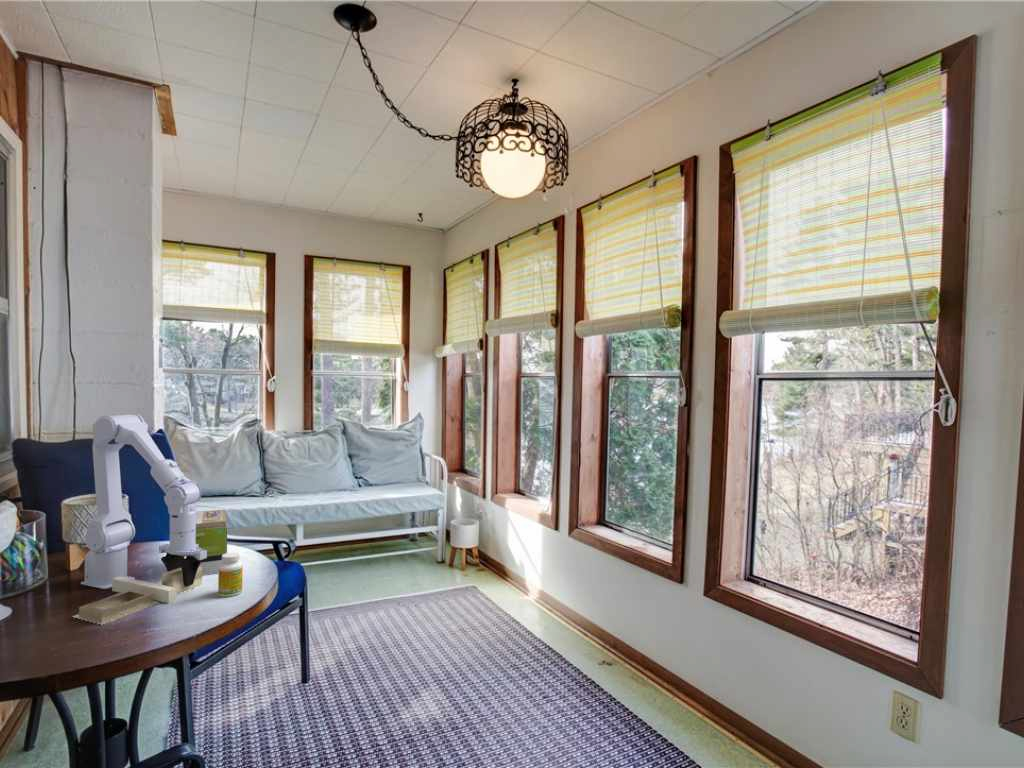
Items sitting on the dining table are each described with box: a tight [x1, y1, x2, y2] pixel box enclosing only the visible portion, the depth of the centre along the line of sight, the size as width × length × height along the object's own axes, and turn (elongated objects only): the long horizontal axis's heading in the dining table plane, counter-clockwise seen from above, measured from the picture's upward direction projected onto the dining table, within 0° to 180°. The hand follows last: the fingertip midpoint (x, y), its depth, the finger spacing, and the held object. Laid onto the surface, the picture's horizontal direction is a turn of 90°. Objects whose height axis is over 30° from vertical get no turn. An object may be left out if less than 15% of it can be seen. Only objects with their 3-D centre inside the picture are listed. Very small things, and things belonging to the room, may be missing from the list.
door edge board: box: [111, 576, 177, 604], centre depth 139 cm, size 20×2×3 cm, turn 69°
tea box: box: [196, 508, 228, 575], centre depth 161 cm, size 15×10×15 cm, turn 27°
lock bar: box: [161, 566, 203, 595], centre depth 143 cm, size 4×8×5 cm, turn 159°
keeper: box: [71, 590, 160, 626], centre depth 130 cm, size 10×13×2 cm
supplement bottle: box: [217, 552, 244, 598], centre depth 141 cm, size 5×5×10 cm
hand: (182, 584), depth 143 cm, fingers closed on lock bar, 4 cm apart
